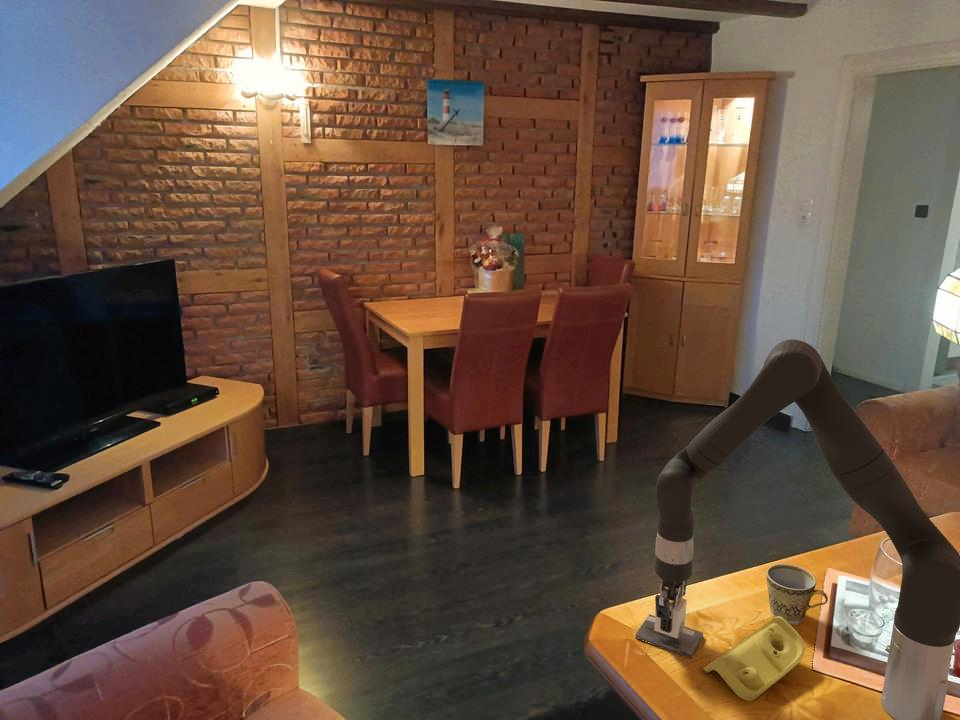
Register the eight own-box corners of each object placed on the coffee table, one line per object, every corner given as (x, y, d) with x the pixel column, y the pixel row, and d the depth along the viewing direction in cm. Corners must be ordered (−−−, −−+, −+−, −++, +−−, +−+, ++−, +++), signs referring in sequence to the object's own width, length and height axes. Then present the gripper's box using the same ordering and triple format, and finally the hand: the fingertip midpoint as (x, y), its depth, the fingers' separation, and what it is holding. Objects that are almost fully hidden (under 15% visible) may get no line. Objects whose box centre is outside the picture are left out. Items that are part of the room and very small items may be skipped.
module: (684, 626, 148) (686, 598, 146) (677, 638, 144) (679, 610, 143) (662, 618, 151) (663, 591, 149) (654, 630, 147) (655, 602, 145)
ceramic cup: (754, 615, 155) (758, 576, 152) (775, 596, 161) (779, 558, 158) (813, 643, 145) (818, 601, 143) (833, 622, 152) (838, 582, 149)
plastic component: (752, 699, 128) (712, 653, 134) (736, 716, 133) (698, 671, 138) (814, 650, 138) (775, 609, 144) (798, 668, 143) (760, 627, 148)
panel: (703, 636, 148) (703, 624, 147) (691, 658, 142) (692, 646, 141) (649, 618, 155) (649, 606, 154) (635, 638, 148) (636, 626, 148)
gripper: (680, 575, 135) (676, 649, 140) (702, 542, 146) (698, 611, 151) (643, 564, 139) (640, 636, 144) (668, 532, 150) (664, 600, 155)
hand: (670, 623), depth 147 cm, fingers closed on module, 4 cm apart
